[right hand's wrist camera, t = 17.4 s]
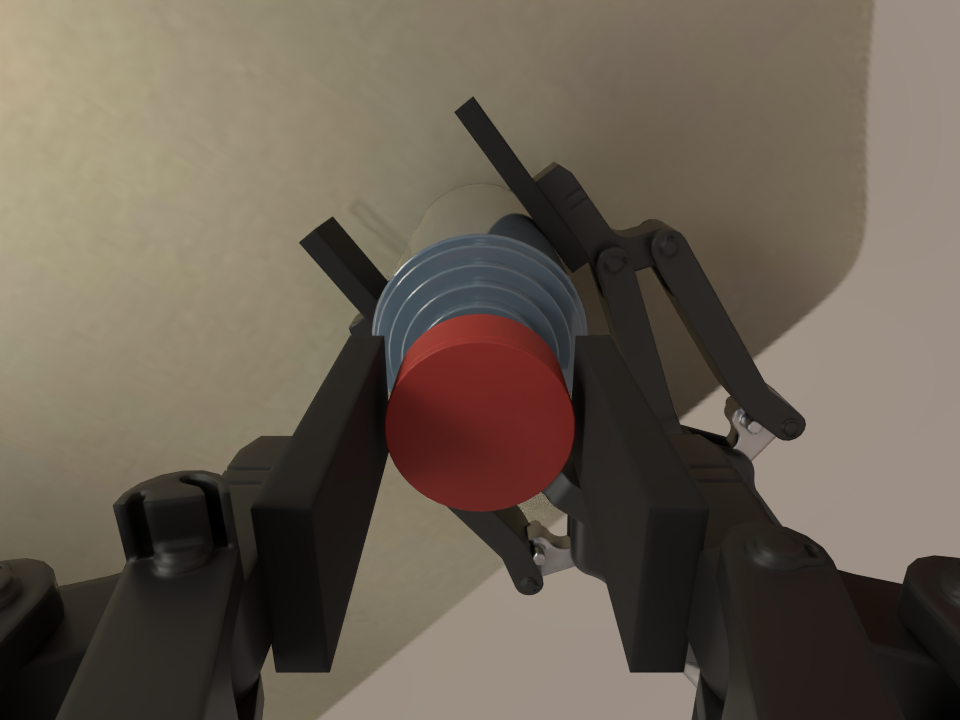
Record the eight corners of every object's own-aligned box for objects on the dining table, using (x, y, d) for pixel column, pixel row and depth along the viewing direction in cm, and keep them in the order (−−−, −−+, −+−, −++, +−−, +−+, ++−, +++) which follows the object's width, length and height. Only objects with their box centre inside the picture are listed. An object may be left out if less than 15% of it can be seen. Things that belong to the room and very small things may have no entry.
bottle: (469, 337, 30) (458, 582, 15) (387, 240, 29) (275, 397, 13) (571, 261, 29) (679, 440, 13) (491, 154, 27) (506, 213, 12)
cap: (576, 321, 14) (589, 350, 12) (552, 473, 15) (561, 518, 13) (399, 305, 14) (388, 332, 12) (392, 460, 15) (380, 505, 13)
